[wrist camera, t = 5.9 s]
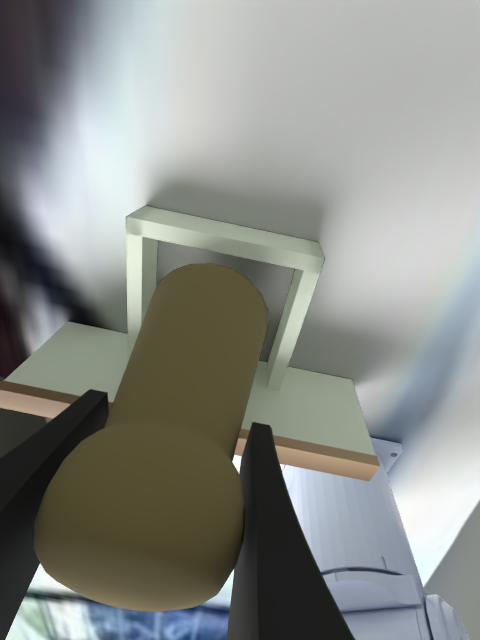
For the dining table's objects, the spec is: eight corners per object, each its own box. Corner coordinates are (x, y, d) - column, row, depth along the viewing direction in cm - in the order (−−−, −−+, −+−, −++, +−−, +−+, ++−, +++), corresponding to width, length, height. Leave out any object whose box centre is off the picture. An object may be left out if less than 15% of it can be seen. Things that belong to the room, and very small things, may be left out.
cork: (196, 236, 13) (34, 503, 4) (294, 317, 15) (319, 620, 6) (129, 318, 16) (-50, 580, 7) (218, 377, 18) (162, 644, 9)
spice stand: (345, 392, 22) (369, 481, 17) (70, 336, 22) (-1, 407, 16) (412, 262, 17) (480, 327, 11) (49, 185, 17) (-66, 213, 11)
